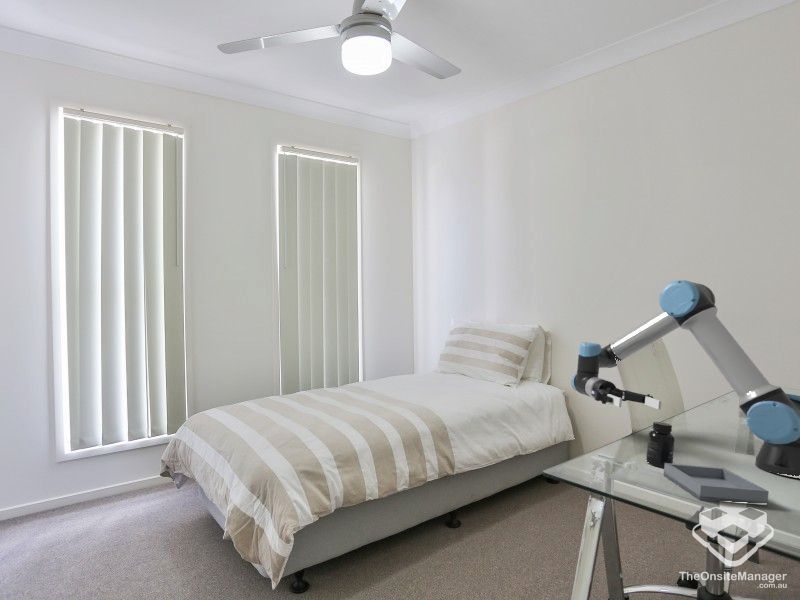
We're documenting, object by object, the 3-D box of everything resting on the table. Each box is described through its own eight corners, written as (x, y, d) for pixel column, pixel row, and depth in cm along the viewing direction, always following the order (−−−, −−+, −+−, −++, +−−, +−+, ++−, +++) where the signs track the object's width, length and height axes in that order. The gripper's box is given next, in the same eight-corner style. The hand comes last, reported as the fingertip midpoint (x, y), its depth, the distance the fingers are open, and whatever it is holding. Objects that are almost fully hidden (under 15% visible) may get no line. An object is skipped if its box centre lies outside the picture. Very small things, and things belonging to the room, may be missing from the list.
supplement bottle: (676, 470, 137) (679, 428, 137) (650, 466, 138) (653, 424, 138) (667, 462, 143) (671, 422, 143) (643, 459, 145) (646, 419, 145)
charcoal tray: (723, 480, 131) (724, 468, 131) (767, 506, 115) (768, 491, 115) (663, 475, 131) (664, 462, 131) (699, 500, 115) (700, 485, 115)
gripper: (632, 402, 174) (674, 418, 153) (567, 398, 170) (602, 414, 149) (634, 381, 174) (677, 394, 153) (569, 377, 169) (604, 389, 149)
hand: (640, 404), depth 151 cm, fingers open, 13 cm apart
